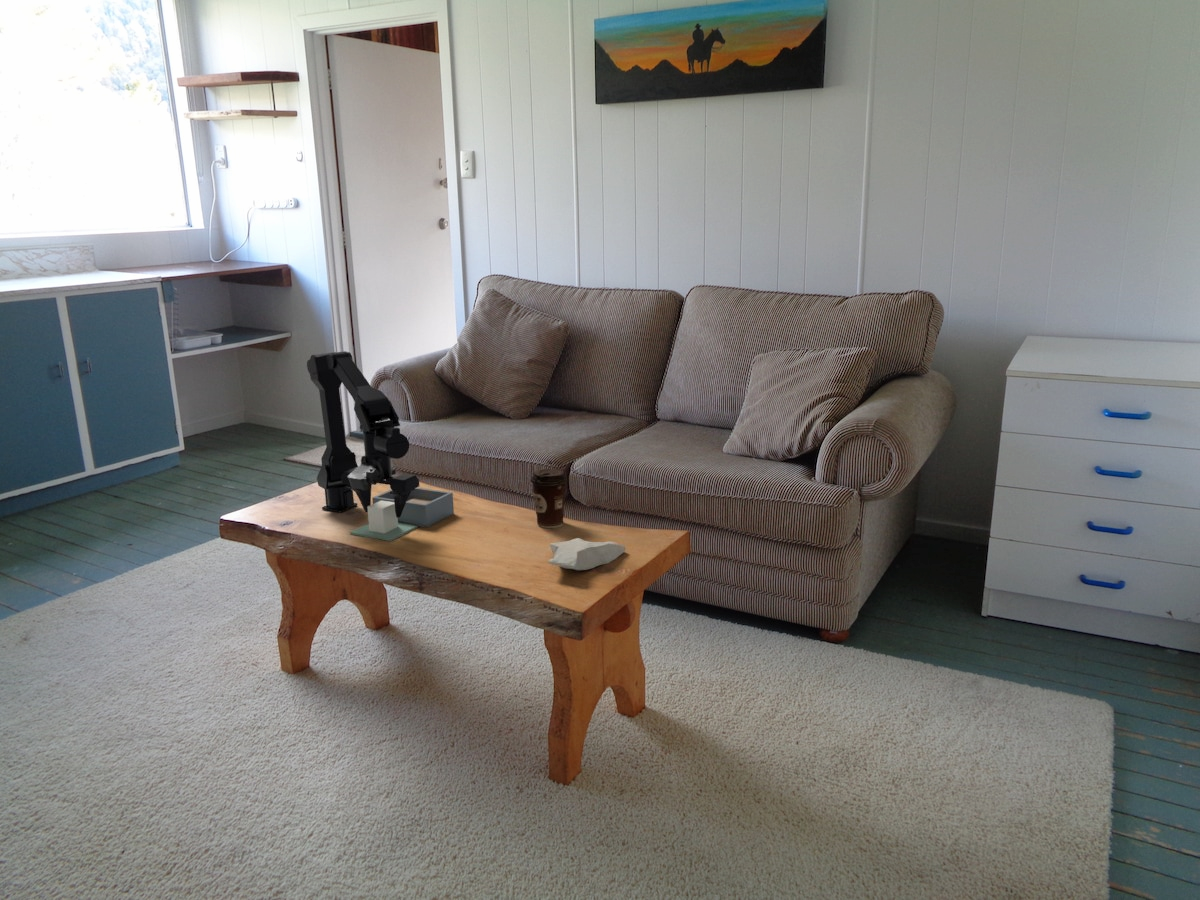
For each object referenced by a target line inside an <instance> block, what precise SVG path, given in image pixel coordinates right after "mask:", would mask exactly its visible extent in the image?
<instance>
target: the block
mask: <svg viewBox="0 0 1200 900" xmlns="http://www.w3.org/2000/svg"><path fill="white" fill-rule="evenodd" d="M367 508H368V513H367V516H368V517H367V521H368V523H369V531H374V532H380V533H386V532H388V531H391V530H393V529H395V528H397V527H398V518H397V517H396V513H395V503H394V502H389V501H382V500H381V501H379V502H376V503H374V504H373V503H371V505H370V506H367Z"/></svg>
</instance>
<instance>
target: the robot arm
mask: <svg viewBox="0 0 1200 900" xmlns="http://www.w3.org/2000/svg"><path fill="white" fill-rule="evenodd" d="M306 361H307V362H306V368H307V369H306V370H307V372H308V373H309V377H310V380H311V382H312V383H313V384H314V386H315V387H316V388H317V389H318V391H319V398H320V407H321V413H322V414H321V415H322V421H323V429H324V438H325V445H326V447H325V450H324V452H323V454H322V456H321V459H320V461H321V467H320V470H319V472H318V474H317V476H316V481H317V485H318V487H320V488H322V489H324V496H325V498H324V499H325V504H326V505H325V506H322V507H321V510H325V511H330V512H338V513H342V512H345V511H348V510H349V509H352V508H355V507H356V506H358V502H355V499H354V498H355V497H354V493H355V495H357V498H358V500H359V501H360V504H361V506H362V508H363V510H364V512H365V514H366V513H367V514H368V508H367V506H370V505H372V503H371V502H372V501H371V500H372V486H376V485H377V484H380V485H389V487H390V490H391V489H392V490H393V491H392V492H390V494H391V495H392V496H393V497H394V503H395V513H396V517H397V518H399V517H400V516H401V514H402V511H403V509H404V506H405V504H406V501H407V499H408V497H409V495H410V493H411V491H412V490H415V488H420V478H419V477H418V475H416V474H411V473H410V474H409V473H402V474H400V475H397V476H394V475H396V474H397V473H396V469H393V468H392V459H396V460H398V459H401V458H403V457H405V456H406V455H407V454H408V452H409V449H410V442H409V439H408V438H407V436H406V435H405V434H403V433H401V430H400V429H401V428H399V427H400V426H401V425H400V424H401V423H400V422H399V420H400V418H399V415H398V414H397V412H396V410H395V408H394V405H393V404H392V401H391V400H390V399H389V398H388V397H387V396H386V395H385V393H384V392H383V391H381V390H379V389H378V388H374V387H373V386H371V384H370V383H369V381H368V380H367V378H366V377H365V376H364V374H363V373H362V371H361V370H360V368H359V367H358V366H357V364H356V363H355V361H354V359H353V356H352V354H351V352H350V351H345V350H344V351H335V352H334V351H332V352H325V353H324V352H323V353H317V354H311V355H310V357H309V359H308V360H306ZM342 384H343V386H344V387H345V389H346V390H347V392H348V394H349V395H350V396H351V397H352V399H353V401H354V407H353V410H354V412H355V415H356V418H357V420H358V422H359V423H360V424H361V425H360V426H359V430H361V431H362V433H363V444H364V455H363V456H362V455H361V458H360V465H358V463H357V460H356V459H357V456H356V453H355V452H352V450H351V449H350V448H349V446H348V445H347V440H346V439H347V438H346V432H345V425H344V424H345V423H344V418H343V417H344V416H343V409H342V408H343V407H342V401H341V400H342V398H341V392H340V388H341V385H342Z"/></svg>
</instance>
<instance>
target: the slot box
mask: <svg viewBox="0 0 1200 900" xmlns="http://www.w3.org/2000/svg"><path fill="white" fill-rule="evenodd" d="M392 491H393V490H392V489H391V488H390V489H388V490H386V491H384V492H382V493H380V494H378V495H377V494H376V495H375V496H371V500H372V504H374V503H376V502H379V501H381V500H382V501H389V502H394V497H393V496H392V495H391V494H390V492H392ZM454 511H455V509H454V493H453V492H450V491H444V490H436V489H429V488H422V487H417V488H415V490H412V491H411V493H410V495H409V497H408V499H407V501H406V504H405V506H404V509H403V511H402V514H401V516H400V517H399V518H398V523H405V524H411V525H417V526H418V527H423V528H429V527H431V526H433V525H435V524H437V523H438V522H441V521H442V520H445V519H447V518H448V517H450V516H452V515H454V514H455V512H454Z"/></svg>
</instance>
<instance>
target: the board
mask: <svg viewBox="0 0 1200 900" xmlns="http://www.w3.org/2000/svg"><path fill="white" fill-rule="evenodd" d="M418 528H419V526H417V525H411V524H405V523H398V527H397V528H395V529H393V530H391V531H388V532H386V533H380V532H374V531H369V522H368V523H367V524H364V525H362V526H360V527H357V528H356V529H353V530H352V531H350V532H349V535H353V536H361V537H363V538H365V537H366V538H370V539H377V540H383V541H388V542H391V541H394V540H396V539H398V538H400V537H402V536H404V535H406V534H408V533H410V532H412V531H414V530H417V529H418Z"/></svg>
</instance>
